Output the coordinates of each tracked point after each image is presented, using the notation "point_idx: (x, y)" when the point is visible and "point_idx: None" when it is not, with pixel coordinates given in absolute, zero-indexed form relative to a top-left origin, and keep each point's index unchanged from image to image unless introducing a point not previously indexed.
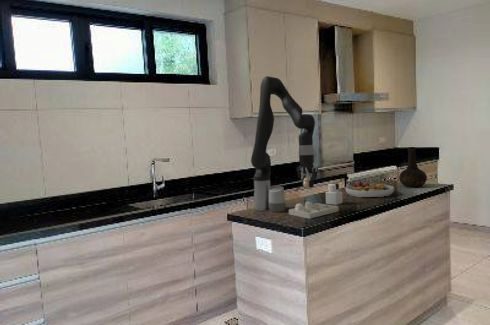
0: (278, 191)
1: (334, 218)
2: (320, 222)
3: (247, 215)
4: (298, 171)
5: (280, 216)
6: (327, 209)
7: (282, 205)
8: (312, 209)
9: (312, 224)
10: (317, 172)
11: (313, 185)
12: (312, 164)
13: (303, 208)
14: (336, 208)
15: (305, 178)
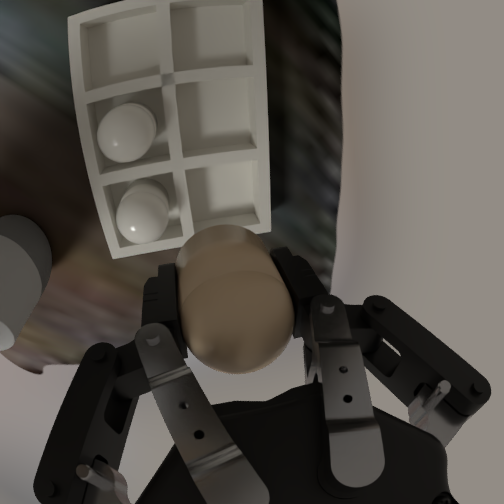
0: (14, 335)
1: (325, 111)
2: (324, 206)
3: (43, 347)
4: (112, 463)
5: (111, 276)
6: (266, 84)
7: (43, 261)
8: (180, 138)
9: (318, 247)
10: (448, 347)
11: (303, 260)
12: (441, 489)
13: (163, 199)
14: (260, 7)
15: (250, 372)
